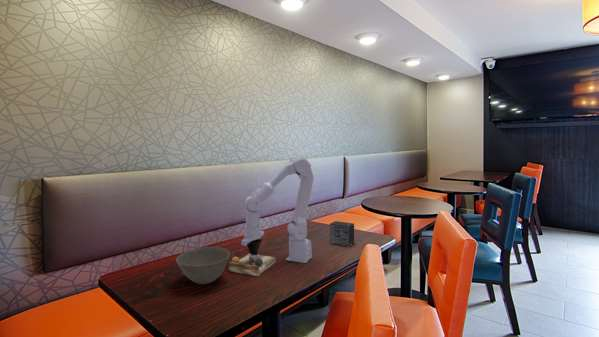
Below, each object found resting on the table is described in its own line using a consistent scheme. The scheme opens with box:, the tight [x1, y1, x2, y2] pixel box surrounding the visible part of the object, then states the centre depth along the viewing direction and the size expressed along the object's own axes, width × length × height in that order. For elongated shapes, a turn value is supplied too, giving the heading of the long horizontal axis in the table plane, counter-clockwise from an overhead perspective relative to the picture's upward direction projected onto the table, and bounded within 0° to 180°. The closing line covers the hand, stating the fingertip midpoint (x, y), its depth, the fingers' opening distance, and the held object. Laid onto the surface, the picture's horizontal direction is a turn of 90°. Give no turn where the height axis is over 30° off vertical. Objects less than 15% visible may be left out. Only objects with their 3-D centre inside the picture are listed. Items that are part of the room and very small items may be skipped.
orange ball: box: [231, 256, 240, 263], centre depth 127 cm, size 3×3×3 cm
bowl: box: [175, 246, 231, 285], centre depth 116 cm, size 19×19×10 cm
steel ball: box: [249, 253, 256, 262], centre depth 130 cm, size 3×3×3 cm
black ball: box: [255, 258, 263, 266], centre depth 125 cm, size 3×3×3 cm
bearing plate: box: [228, 253, 277, 277], centre depth 129 cm, size 13×15×4 cm
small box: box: [329, 220, 355, 247], centre depth 156 cm, size 11×6×10 cm, turn 58°
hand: (253, 257), depth 131 cm, fingers closed, pressing on steel ball
